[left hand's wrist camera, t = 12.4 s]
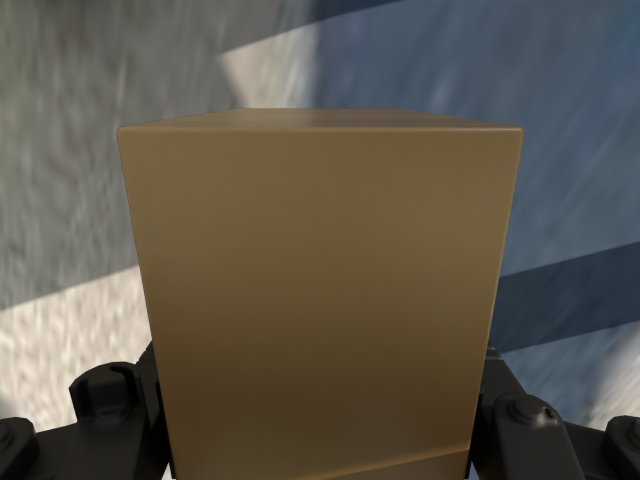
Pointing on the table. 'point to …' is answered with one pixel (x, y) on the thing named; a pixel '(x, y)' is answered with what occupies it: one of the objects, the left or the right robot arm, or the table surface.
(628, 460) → the left robot arm
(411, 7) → the table surface
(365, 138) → the plank
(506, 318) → the table surface
